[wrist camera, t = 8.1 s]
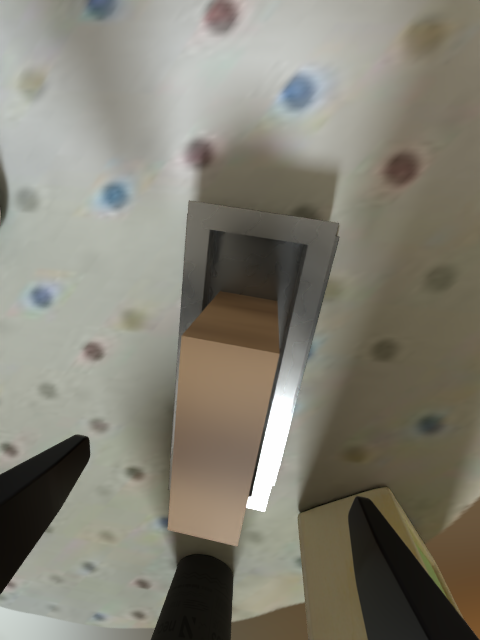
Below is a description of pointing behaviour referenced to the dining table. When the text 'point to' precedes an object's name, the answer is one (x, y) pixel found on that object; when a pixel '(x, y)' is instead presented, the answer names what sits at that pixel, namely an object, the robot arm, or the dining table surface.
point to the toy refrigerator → (347, 565)
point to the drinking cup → (197, 602)
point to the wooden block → (221, 414)
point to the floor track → (262, 282)
